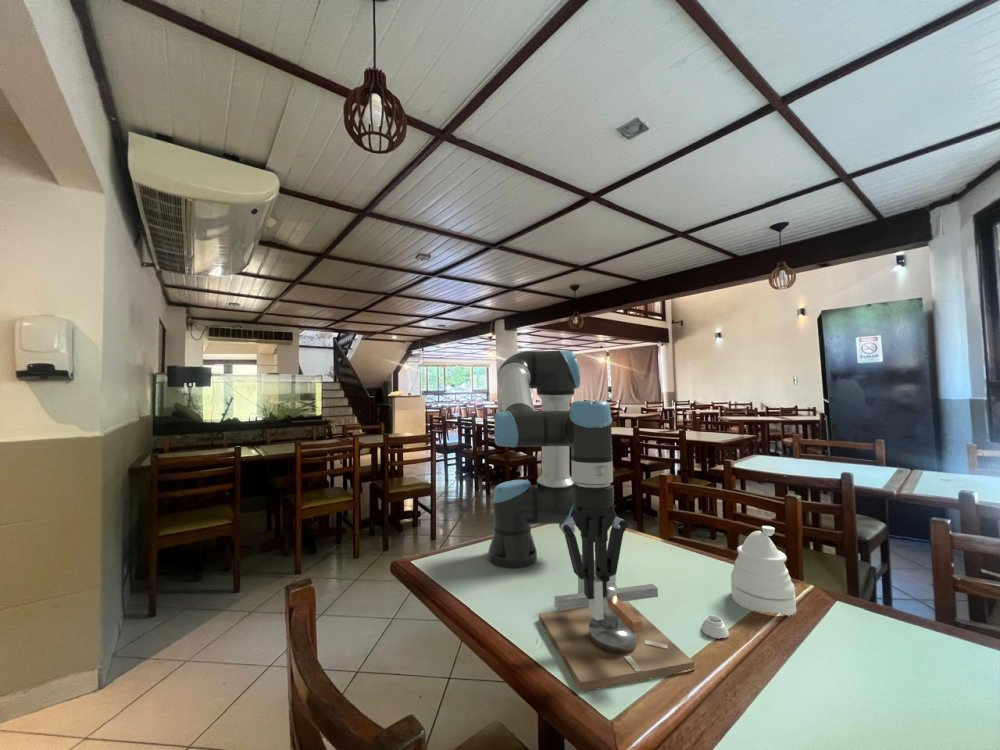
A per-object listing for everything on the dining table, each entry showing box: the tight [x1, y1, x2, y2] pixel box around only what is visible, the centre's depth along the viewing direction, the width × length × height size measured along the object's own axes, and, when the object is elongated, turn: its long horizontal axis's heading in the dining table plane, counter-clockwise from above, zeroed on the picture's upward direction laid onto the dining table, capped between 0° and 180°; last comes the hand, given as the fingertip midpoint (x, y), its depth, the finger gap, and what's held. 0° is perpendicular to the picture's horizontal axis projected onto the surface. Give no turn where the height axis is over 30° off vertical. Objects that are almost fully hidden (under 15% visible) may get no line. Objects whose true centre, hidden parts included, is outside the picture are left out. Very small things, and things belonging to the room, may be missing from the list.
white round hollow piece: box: [700, 614, 730, 640], centre depth 81 cm, size 5×3×5 cm
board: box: [538, 601, 695, 693], centre depth 78 cm, size 22×22×2 cm
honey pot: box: [730, 525, 797, 617], centre depth 94 cm, size 13×13×18 cm
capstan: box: [553, 579, 659, 653], centre depth 78 cm, size 22×22×9 cm
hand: (596, 615), depth 70 cm, fingers closed
